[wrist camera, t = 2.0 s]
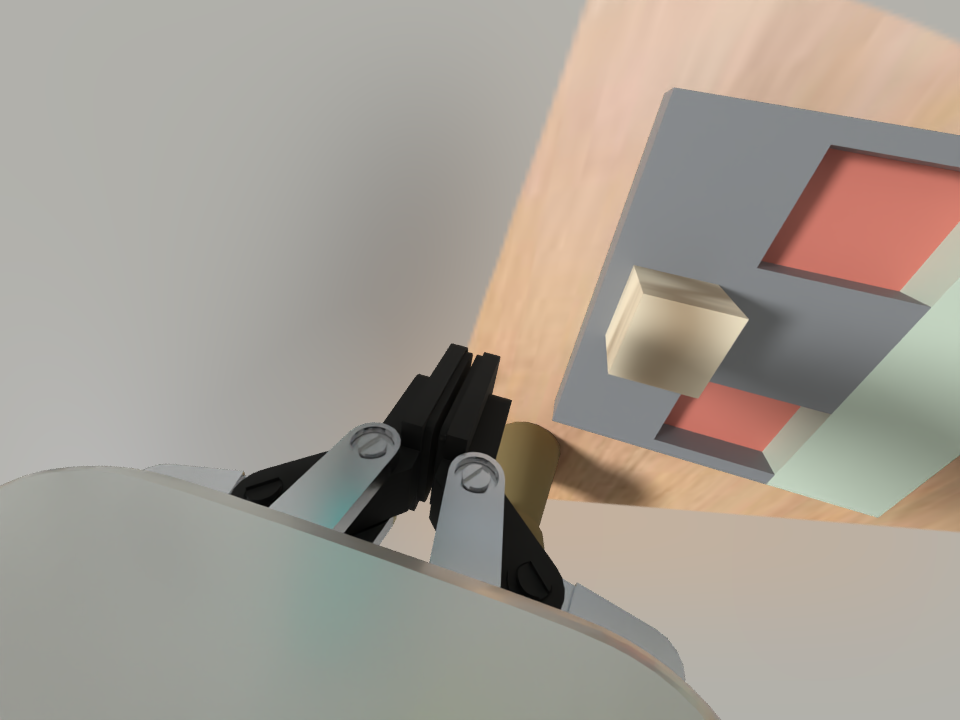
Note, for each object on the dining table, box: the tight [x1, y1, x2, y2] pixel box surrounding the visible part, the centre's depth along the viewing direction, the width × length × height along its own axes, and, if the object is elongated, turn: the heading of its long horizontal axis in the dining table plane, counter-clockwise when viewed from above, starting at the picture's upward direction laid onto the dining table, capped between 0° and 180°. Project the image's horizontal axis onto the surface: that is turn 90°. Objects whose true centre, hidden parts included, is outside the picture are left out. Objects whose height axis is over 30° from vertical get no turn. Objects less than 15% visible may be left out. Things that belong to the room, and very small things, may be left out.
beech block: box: [605, 265, 749, 399], centre depth 19 cm, size 4×4×4 cm
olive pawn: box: [496, 422, 560, 549], centre depth 28 cm, size 6×6×11 cm
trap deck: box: [552, 88, 960, 518], centre depth 21 cm, size 22×20×2 cm
